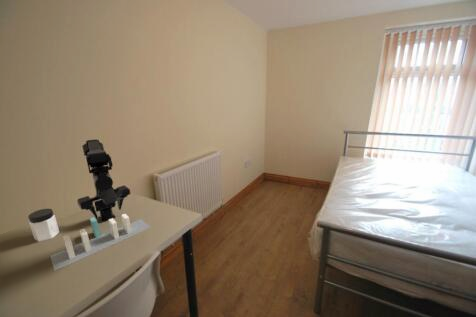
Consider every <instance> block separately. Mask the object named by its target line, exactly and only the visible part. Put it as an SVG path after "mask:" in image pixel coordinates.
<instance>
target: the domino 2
mask: <svg viewBox="0 0 476 317" xmlns="http://www.w3.org/2000/svg"><path fill="white" fill-rule="evenodd" d="M79 235H80V239H81V243H83V247H84V249H85V251H86V252H87V251H90V250H91V246H90V242H89V240H90V238H89V234H88V232H87V231H86V229H85V228H83V229H80V230H79Z"/></svg>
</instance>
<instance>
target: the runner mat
mask: <svg viewBox="0 0 476 317" xmlns="http://www.w3.org/2000/svg"><path fill="white" fill-rule="evenodd" d="M130 225H131V231H132V232H131V233H128V234H127V232H126V231H125V230H124V228H123V225H122V226H120V227H117V228H118V233H119V238H117V239H114V237H113V236H112V235H111V230H109V232H108V231H107V232H105V233H104V234H100V235H101V236H99V237H97V238H96V237H95V236H94V237H93V238H91V239H89V242H90V246H91V250H90V251H87V252H86V251H85V249H84V247H83V243H82V242H80V243H79V244H76V245H72V246H73V250H74V253H75V257H74V258H71V259H70V258H69V256H68V253H67V250H66V249H63V250H61V251H58V252H57V253H53V254H52V255H49V256H50V260H51V264H52V266H53V270H54V271H57V270H60V269H62V268H64V267H66V266H68V265H71V264H73V263H75V262H77V261H79V260H81V259H84V258H87V257H88V256H91V255H93V254H95V253H97V252H100V251H102V250H104V249H106V248H108V247H111V246H113V245H115V244H117V243H120V242H121V241H124V240H126V239H128V238H130V237H132V236H135V235H137V234H139V233H141V232H145V231H146V230H148V229H151V228H152V227H151V226H150V225H149V224H148V222H146V221H145V220H143V218H140V219H137V220H134V221H133V222H130Z"/></svg>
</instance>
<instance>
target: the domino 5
mask: <svg viewBox="0 0 476 317" xmlns="http://www.w3.org/2000/svg"><path fill="white" fill-rule="evenodd" d="M130 220H131V219H130V217H129V216H128V214H126V213H122V214H121V221H122V226H123V228H124V230H125V231H126V232H127V234H128V233H131V232H132V231H131V225H130V223H131V221H130Z"/></svg>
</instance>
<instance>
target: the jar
mask: <svg viewBox="0 0 476 317" xmlns="http://www.w3.org/2000/svg"><path fill="white" fill-rule="evenodd" d="M27 218H28V223H29V224H28V225H29V227H30V229H31V233H32V236H33V238H34V240H36V242H40V243H41V242H44V241H47V240H50V239H53V238H54V237H56V236H57V235H58V234H59V233H60V229H59V226H58V222H57V219H56V215H55V214H54V211H53V209H52V208H43V209H38V210H35V211H33V212H31V213H30V214H29V215H28V217H27Z"/></svg>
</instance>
